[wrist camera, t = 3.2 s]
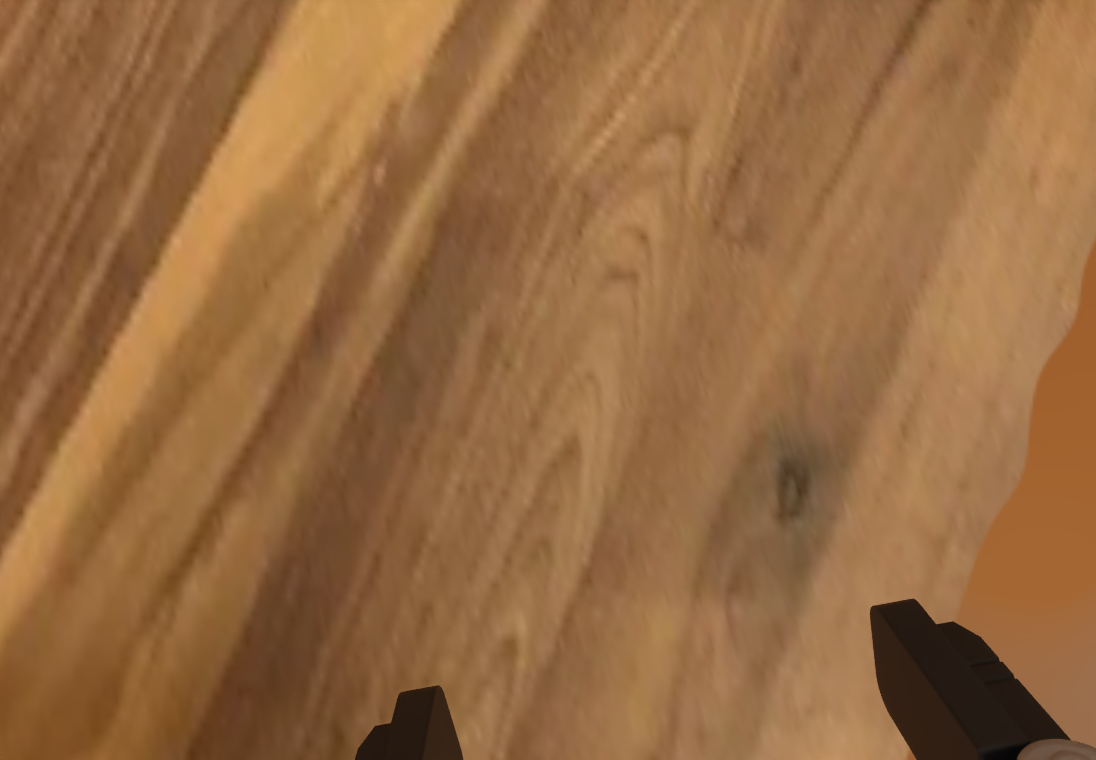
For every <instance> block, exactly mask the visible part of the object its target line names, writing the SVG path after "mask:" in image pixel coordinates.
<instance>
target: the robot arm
mask: <svg viewBox="0 0 1096 760" xmlns="http://www.w3.org/2000/svg"><path fill="white" fill-rule="evenodd" d="M870 620H871V630H872V639H873V649H874V658H875V668H876V677H877V682H878V686H879V690H880V693H881V696H882V699H883V702H884V704H885V706H886V709H887V711H888V713H889V714H890V716H891V718H892V719H893V721H894V723H895V724H896V726H897V728H898V729H899V731H900V733H901V734H902V736H903V738H904V739H905V741H906V743H907V744H908V746H909V748H910V749H911V751H912V753H913V754H914V756H915V757H916V759H917V760H1096V748H1094V747H1092V746H1089V745H1087V744H1083V743H1080V742H1076V741H1072V740H1070V738H1069V737H1068V736H1067V735H1066V734H1065V733H1064V732H1063V730H1062V729H1061V728H1060V727H1059V726H1058V725H1057V724H1056V723H1055V721H1054V720H1053V719H1052V718H1051V717H1050V716H1049V714H1048V713H1047V712H1046V711H1045V710H1044V709H1043V708H1042V707H1041V705H1040V704H1039V703H1038V702H1037V701H1036V700H1035V699H1034V698H1033V696H1032V695H1031V694H1030V693H1029V692H1028V691H1027V689H1026V688H1025V687H1024V686H1023V685H1022V684H1021V683H1020V681H1019V680H1018V679H1015V678H1014V675H1013V673H1011V671H1010V670H1009V669H1008V668H1007V667H1006V666H1005V664H1004V663H1003V662H1000V661H999V658H998V656H997V655H996V654H995V653H994V652H993V651H992V650H991V648H990V647H989V646H988V645H987V644H986V643H985V642H984V640H983V639H982V638H981V637H979V636H978V635H976V634H974V633H972V632H971V631H969V630H967V629H965V628H964V627H962V626H960V625H958V624H957V623H955V622H947V623H942V624H935V622H934V621H933V620H932V619H931V617H930V616H929V615H928V614H927V612H926V611H925V610H924V609H923V608H922V606H921V605H920V604H919V603H918V602H917V601H916V600H915V599H908V600H902V601H897V602H892V603H886V604H881V605H875V606H872V607H871V609H870ZM355 760H463V756H462V751H461V748H460V744H459V741H458V738H457V734H456V731H455V728H454V724H453V721H452V718H451V715H450V711H449V708H448V705H447V701H446V698H445V695H444V692H443V690H442V688H441V687H440V686H439V685H437V686H432V687H427V688H421V689H416V690H410V691H405V692H401V693H400V694H399V696H398V699H397V702H396V706H395V710H394V714H393V718H392V722H391V723H389V724H384V725H378V726H375V727H374V728H373V730H372V731H371V732H370V734H369V735H368V736H367V738H366V739H365V740H364V742H363V743H362V744H361V746H360V747H359V748H358V751H357V754H356V757H355Z"/></svg>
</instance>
